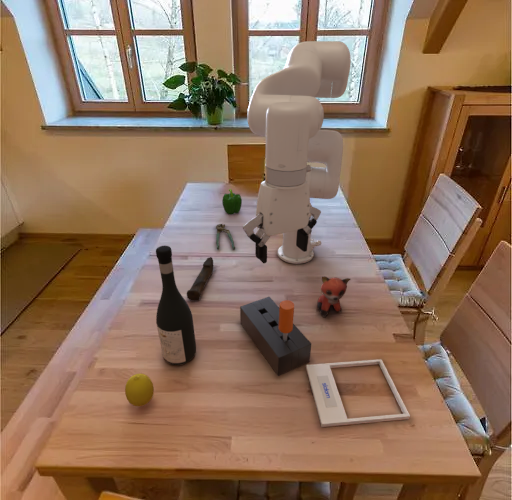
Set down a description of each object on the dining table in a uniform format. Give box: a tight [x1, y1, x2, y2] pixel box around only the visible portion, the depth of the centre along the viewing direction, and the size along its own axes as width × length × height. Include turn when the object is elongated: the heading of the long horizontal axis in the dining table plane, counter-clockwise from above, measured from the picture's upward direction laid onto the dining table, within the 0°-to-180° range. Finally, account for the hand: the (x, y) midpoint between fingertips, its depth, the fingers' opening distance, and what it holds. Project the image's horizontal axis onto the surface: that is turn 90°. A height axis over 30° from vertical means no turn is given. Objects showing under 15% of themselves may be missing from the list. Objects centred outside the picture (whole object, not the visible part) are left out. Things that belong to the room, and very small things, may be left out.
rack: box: [239, 296, 312, 377], centre depth 88 cm, size 9×19×6 cm, turn 28°
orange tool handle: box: [279, 299, 295, 342], centre depth 81 cm, size 3×3×16 cm
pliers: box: [215, 223, 236, 251], centre depth 135 cm, size 20×6×1 cm, turn 9°
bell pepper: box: [221, 188, 243, 216], centre depth 152 cm, size 8×8×10 cm
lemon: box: [124, 373, 155, 407], centre depth 73 cm, size 6×6×8 cm
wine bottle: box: [155, 245, 197, 366], centre depth 78 cm, size 8×8×30 cm
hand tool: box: [186, 256, 214, 302], centre depth 109 cm, size 19×4×5 cm, turn 167°
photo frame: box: [305, 358, 411, 428], centre depth 76 cm, size 15×1×18 cm
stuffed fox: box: [316, 275, 351, 318], centre depth 98 cm, size 8×11×12 cm
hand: (282, 254), depth 74 cm, fingers open, 9 cm apart
